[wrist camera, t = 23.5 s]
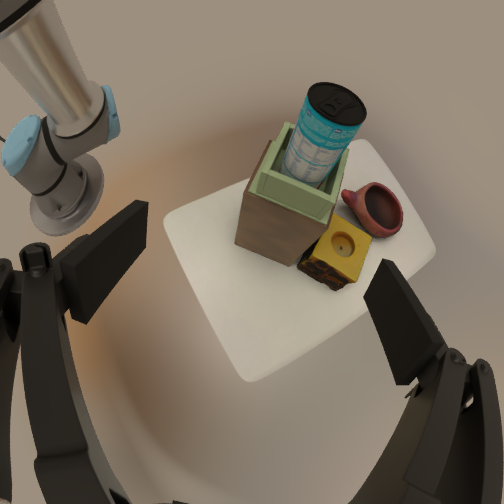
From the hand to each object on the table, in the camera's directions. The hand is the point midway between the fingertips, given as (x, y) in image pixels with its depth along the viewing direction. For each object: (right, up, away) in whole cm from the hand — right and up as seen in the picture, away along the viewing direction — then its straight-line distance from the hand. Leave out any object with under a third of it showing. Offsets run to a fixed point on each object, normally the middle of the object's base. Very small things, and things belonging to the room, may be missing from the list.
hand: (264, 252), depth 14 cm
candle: (+15, -2, +43) cm, 46 cm away
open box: (+6, +10, +22) cm, 25 cm away
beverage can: (+6, +10, +22) cm, 25 cm away
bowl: (+27, +8, +47) cm, 55 cm away
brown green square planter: (+3, +4, +43) cm, 43 cm away
